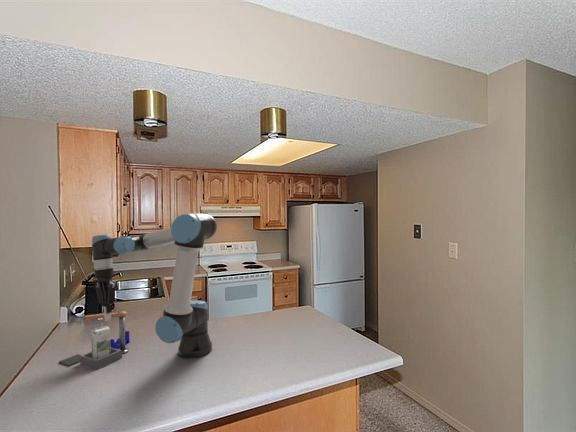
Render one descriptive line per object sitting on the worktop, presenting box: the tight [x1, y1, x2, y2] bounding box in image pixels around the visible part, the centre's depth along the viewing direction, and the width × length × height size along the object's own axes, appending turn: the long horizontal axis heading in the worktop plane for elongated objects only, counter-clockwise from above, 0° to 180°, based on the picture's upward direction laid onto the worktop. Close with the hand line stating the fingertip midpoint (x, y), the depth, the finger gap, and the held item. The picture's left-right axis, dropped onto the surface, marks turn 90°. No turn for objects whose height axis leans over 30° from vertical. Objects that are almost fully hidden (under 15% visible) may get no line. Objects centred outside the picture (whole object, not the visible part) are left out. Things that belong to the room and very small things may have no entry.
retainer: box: [84, 310, 127, 324], centre depth 144 cm, size 17×4×3 cm, turn 105°
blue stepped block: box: [110, 330, 130, 349], centre depth 152 cm, size 12×4×6 cm, turn 170°
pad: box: [58, 354, 83, 367], centre depth 138 cm, size 8×8×1 cm
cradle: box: [79, 347, 123, 370], centre depth 137 cm, size 12×12×4 cm
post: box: [118, 316, 130, 355], centre depth 146 cm, size 5×5×17 cm
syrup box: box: [90, 325, 111, 359], centre depth 137 cm, size 6×6×14 cm
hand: (108, 320), depth 142 cm, fingers closed
